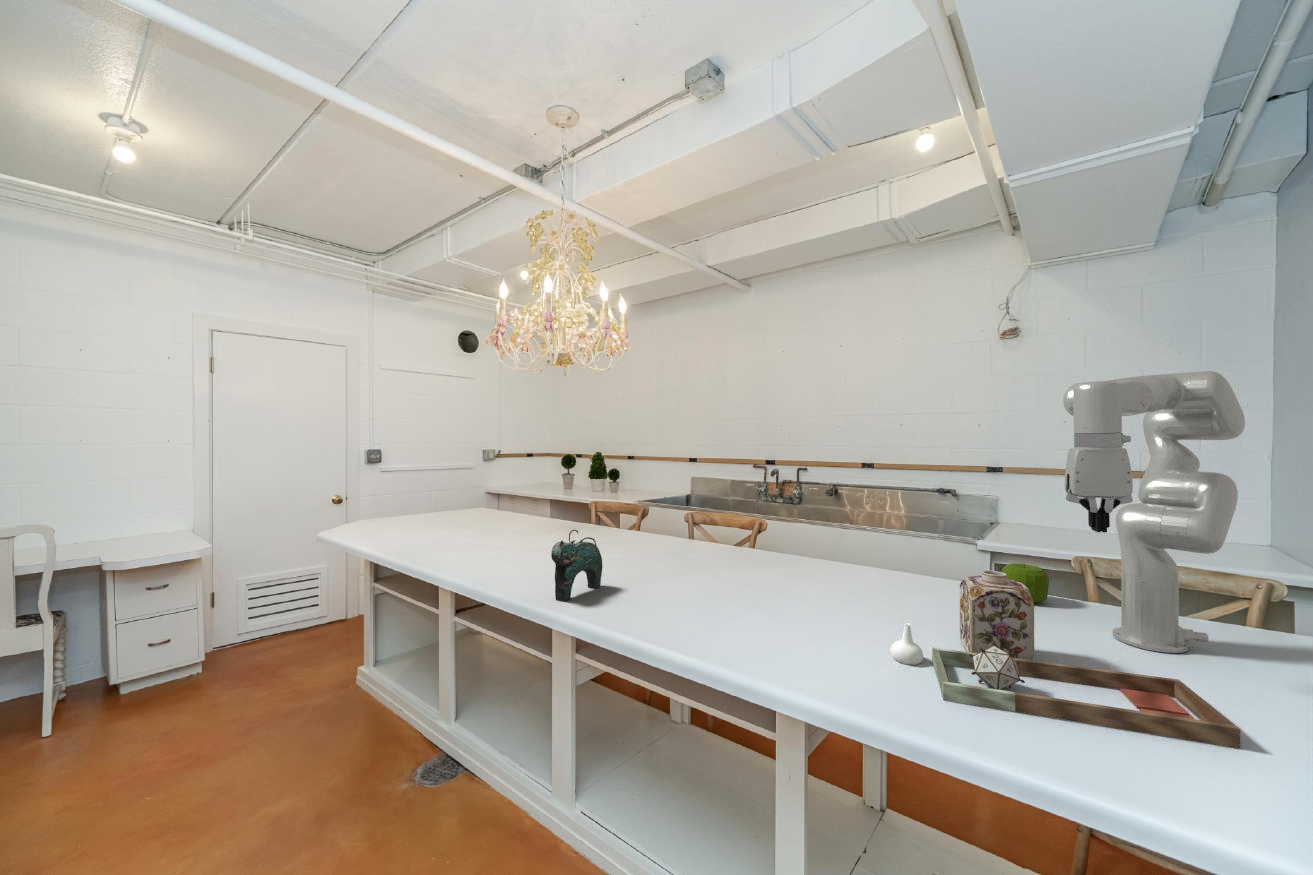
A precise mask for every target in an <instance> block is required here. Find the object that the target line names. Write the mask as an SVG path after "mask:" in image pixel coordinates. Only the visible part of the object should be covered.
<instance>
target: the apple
mask: <svg viewBox="0 0 1313 875" xmlns="http://www.w3.org/2000/svg"><path fill="white" fill-rule="evenodd" d="M1001 572H1002V573H1005V574H1007V579H1010V580H1014V581H1017V582H1020V583H1023V584H1024V585H1025V586H1026V587H1027V588H1028V589H1029V591H1030V595H1031V597H1032V598H1033V603H1034V604H1037V603H1041V602H1044V601H1047V599H1048V595H1049V594H1048V593H1049V585H1050V578H1049V575H1048V573H1047V572H1046V571H1045V570H1044V569H1043V568H1042V567H1039V566H1035V565H1031V564H1025V562H1022V563H1017V562H1016V563H1008V564H1006V565H1005V566H1004V567H1003V566H1002V568H1001Z"/></svg>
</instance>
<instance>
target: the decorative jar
mask: <svg viewBox="0 0 1313 875" xmlns="http://www.w3.org/2000/svg"><path fill="white" fill-rule="evenodd" d="M959 640H960V643H961V644H962V647H963V649H964V650H965V651H964V652H971V653H979V652H981V650H980V648H983V650H985V649H987V648H989V647H991V646H993V645H992V642H993V641H994V643H995V646H996V647H997V648H999V649H1001V650H1003V651H1005V652H1006V653H1008V654H1010V653H1011V652H1014V655H1013V656H1012V658H1017V659H1025V660H1033V661H1035V603H1033V598H1032V597H1031V595H1030V591H1029V589H1028V588H1027V587H1026V586H1025V585H1024V584H1023V583H1020V582H1017V581H1014V580H1010V579H1007V574H1005V573H1002V571H997V570H982V571H981V575H969V576H966V577H963V578H962V580H961V581H960V583H959Z"/></svg>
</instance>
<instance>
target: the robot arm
mask: <svg viewBox="0 0 1313 875" xmlns="http://www.w3.org/2000/svg"><path fill="white" fill-rule="evenodd" d="M1065 390H1066V391H1064V394H1063V400H1062V401H1063V406H1064V409H1065V411H1066V412H1067V413H1068V414H1069V415H1070V416H1072V417H1073V448H1072V447H1071V448H1069V449H1068V452H1067V456H1066V463H1065V470H1064V471H1065V472H1064V491H1065V492H1066V497H1065V500H1066V501H1067V502H1070V503H1074V504H1079V505H1081V506H1082V507H1083V508H1084V509H1085V510H1086V511H1087V512H1088V513H1087V515H1088V519H1087V520H1088V527H1090V529H1091V531H1094V532H1096V533H1101V532H1102V533H1108V528H1110V526H1111V525H1110V524H1111V523H1110V513H1112V512H1113V510H1114V509H1116V508H1117V507H1118V506H1119V505H1124V506H1122V507H1121V508H1120V509H1118V511H1117V513H1116V515H1115V526H1116V530H1117V534H1118V536H1117V537H1118V540H1119V546H1120V559H1121V560H1120V561H1121V562H1120V564H1121V565H1120V566H1121V568H1120V569H1121V584H1120V585H1121V588H1120V590H1121V594H1120V595H1121V597H1120V598H1121V600H1120V601H1121V608H1120V610H1121V616H1120V617H1121V622H1120V623H1121V626H1120V627H1116V628H1113V629H1112V636H1113V637H1114V638H1115V639H1116V640H1118V641H1120V642H1122V643H1124V644H1126V645H1129V646H1132V647H1135V648H1138V649H1144V650H1148V651H1154V652H1158V653H1166V654H1167V653H1168V654H1179V653H1180V654H1182V653H1185V652H1188V651H1189V650H1190V649H1189V644H1188V642H1189V641H1196V642H1205V643H1207V642H1209V635H1208V634H1207V633H1206V632H1201V631H1194V630H1193V629H1190V628H1183V627H1182V626H1180V625H1179V617H1180V616H1179V608H1180V607H1179V606H1180V605H1179V601H1180V600H1179V598H1180V596H1179V595H1180V594H1179V593H1180V592H1179V591H1180V588H1179V586H1180V585H1179V584H1180V583H1179V582H1180V581H1179V578H1180V577H1179V576H1180V573H1179V572H1180V571H1179V568H1178V567H1179V566H1177V563H1176V562H1175V560H1174V559H1173V557H1172V556H1171V555H1170V554H1169V553H1168V552H1167V551H1166V550H1174V551H1181V552H1189V553H1195V554H1196V553H1197V554H1209V555H1210V554H1214V553H1217V552H1219V551H1220V550H1221V549H1222V547H1223V546H1224V544H1225V542H1226V539H1227V535H1228V532H1229V530H1230V527H1231V524H1232V520H1233V517H1234V514H1235V513H1236V512H1235V511H1236V508H1237V504H1238V497H1239V496H1238V495H1239V494H1238V493H1239V491H1238V488H1237V485H1236V482H1235V481H1234V479H1232V478H1231V477H1230V476H1228V475H1226V474H1224V473H1220V472H1214V471H1213V472H1210V471H1199V470H1200V465H1201V463H1200V462H1201V461H1200V460H1199V458H1198V456H1196V454H1194V452H1193V451H1192V450H1190V449H1189V448H1188V447H1186V446H1185V445H1184V444H1182V443H1181V442H1179V441H1180V440H1181V441H1182V440H1183V441H1186V440H1187V441H1227V440H1228V441H1229V440H1233V439H1236V438H1238V437H1239V436H1241V435H1242V433H1243V432H1244V430H1245V427H1246V418H1245V413H1244V411H1243V409H1242V407H1241V404H1240V402H1239V400H1238V398H1237V396H1236V394H1235V391H1234V390H1233V387H1232V386H1231V384H1230V383H1229V381H1228V380H1227V378H1226V377H1225V376H1223V374H1221V373H1219V372H1217V371H1213V370H1205V371H1204V370H1202V371H1191V372H1178V373H1164V374H1161V373H1159V374H1151V375H1138V376H1130V377H1123V378H1117V379H1116V378H1115V379H1110V380H1101V381H1100V380H1099V381H1098V380H1097V381H1087V382H1081V383H1080V382H1079V383H1074V384H1072V385H1070V386H1069V387H1068V388H1067V389H1065ZM1141 414H1142V415H1143V414H1144V415H1143V419H1142V428H1143V435H1144V439H1145V442H1146V445H1147V448H1148V451H1149V454H1150V458H1149V459H1150V460H1149V462H1148V465H1147V467H1146V470H1145V472H1144V474H1143V476H1142V479H1141V481H1140V484H1139V486H1138V490H1137V496H1138V499H1139V500H1138V501H1140V503H1133V501H1134V500H1133V497H1132V494H1133V490H1134V483H1133V482H1134V481H1133V473H1132V465H1131V461H1130V457H1129V454H1128V453H1129V452H1128V450H1127V448H1124V444H1126V443H1131V440H1132V437H1131V435H1126V434H1124V432H1123V430H1122V429H1123V428H1122V426H1123V422H1122V420H1123V419H1122V417H1128V416H1129V417H1132V416H1137V415H1141ZM1097 498H1100V503H1099V508H1098V505H1097V504H1098V503H1097ZM1125 504H1126V505H1125ZM1165 549H1166V550H1165Z"/></svg>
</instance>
